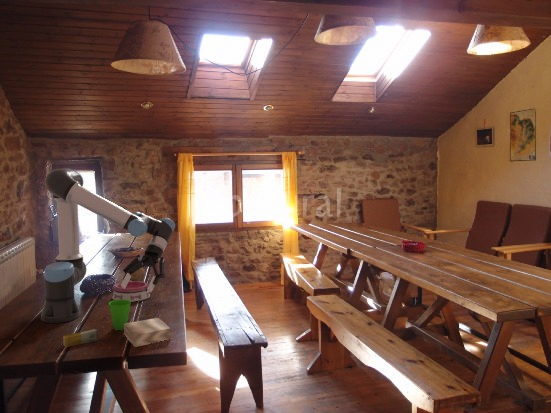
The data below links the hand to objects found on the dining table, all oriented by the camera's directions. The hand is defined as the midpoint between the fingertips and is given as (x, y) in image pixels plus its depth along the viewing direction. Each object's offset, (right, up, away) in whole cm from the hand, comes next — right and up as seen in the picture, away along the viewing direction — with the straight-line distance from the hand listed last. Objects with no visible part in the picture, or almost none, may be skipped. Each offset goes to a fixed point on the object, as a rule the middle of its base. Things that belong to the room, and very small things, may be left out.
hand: (135, 289), depth 199 cm
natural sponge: (-18, -8, +61) cm, 65 cm away
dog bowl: (-13, -11, +36) cm, 40 cm away
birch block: (+9, -16, -16) cm, 25 cm away
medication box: (-14, -17, -23) cm, 32 cm away
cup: (-4, -15, -8) cm, 17 cm away
